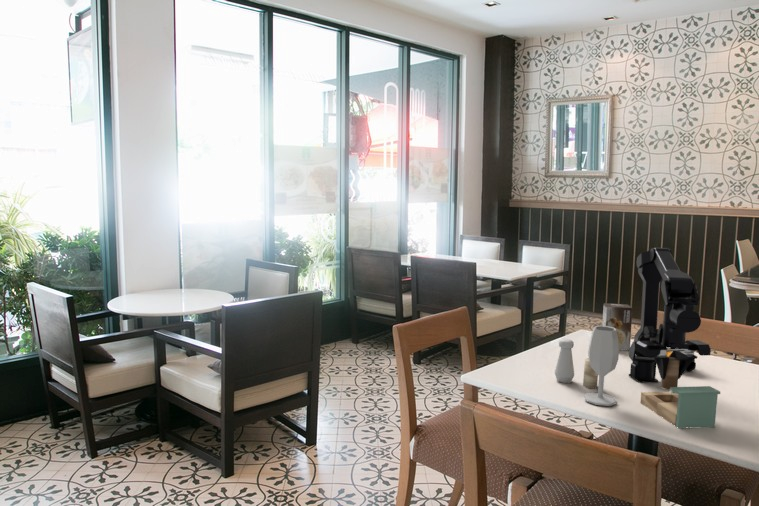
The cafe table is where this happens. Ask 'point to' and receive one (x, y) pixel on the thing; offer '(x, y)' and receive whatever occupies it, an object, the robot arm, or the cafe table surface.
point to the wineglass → (602, 361)
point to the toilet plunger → (673, 354)
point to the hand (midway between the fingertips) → (670, 378)
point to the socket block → (661, 404)
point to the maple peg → (589, 376)
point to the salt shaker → (565, 362)
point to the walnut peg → (671, 374)
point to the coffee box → (619, 322)
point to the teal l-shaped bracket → (696, 406)
